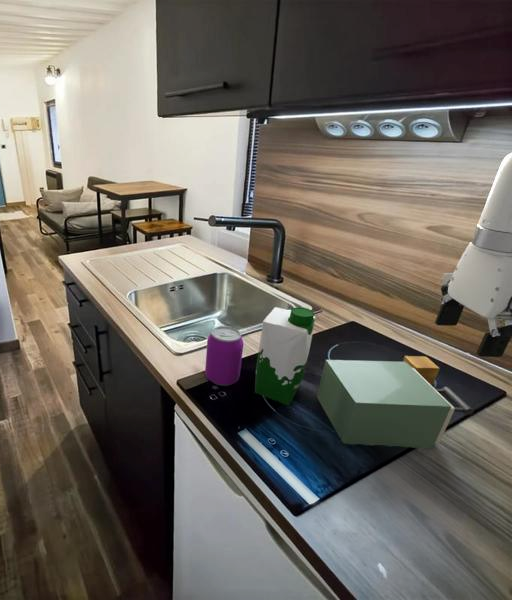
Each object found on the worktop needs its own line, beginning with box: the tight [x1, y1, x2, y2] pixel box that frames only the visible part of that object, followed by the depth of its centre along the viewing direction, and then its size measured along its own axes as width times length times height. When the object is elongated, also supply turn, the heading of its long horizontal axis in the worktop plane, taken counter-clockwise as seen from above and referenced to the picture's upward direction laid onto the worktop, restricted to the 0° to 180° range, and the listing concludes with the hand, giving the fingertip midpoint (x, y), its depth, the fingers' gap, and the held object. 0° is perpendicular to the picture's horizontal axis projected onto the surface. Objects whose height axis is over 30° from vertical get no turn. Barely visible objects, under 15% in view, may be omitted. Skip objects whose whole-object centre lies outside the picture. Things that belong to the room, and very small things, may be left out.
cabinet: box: [316, 359, 451, 450], centre depth 68 cm, size 15×13×10 cm
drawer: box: [413, 368, 474, 444], centre depth 68 cm, size 19×11×8 cm, turn 83°
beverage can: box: [204, 325, 244, 387], centre depth 82 cm, size 8×8×12 cm
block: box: [402, 355, 441, 386], centre depth 80 cm, size 4×4×4 cm
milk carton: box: [254, 306, 317, 407], centre depth 75 cm, size 9×9×20 cm
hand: (465, 339), depth 61 cm, fingers open, 9 cm apart
